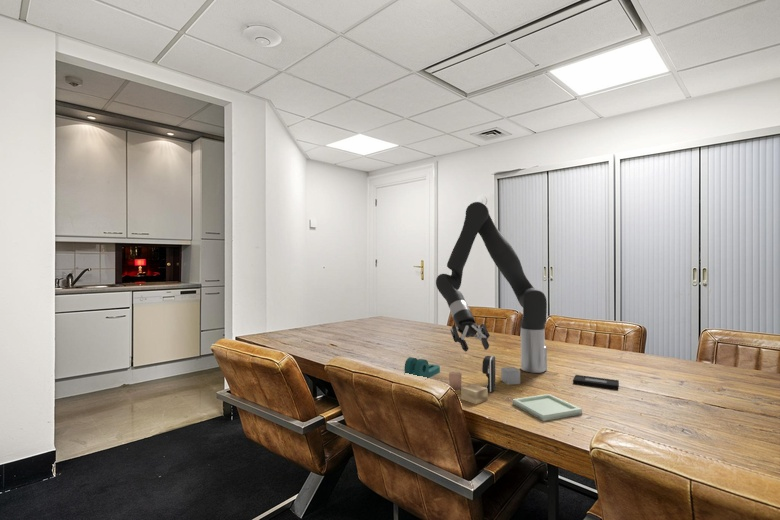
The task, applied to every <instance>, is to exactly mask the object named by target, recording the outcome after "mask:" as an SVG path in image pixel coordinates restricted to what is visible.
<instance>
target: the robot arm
mask: <svg viewBox="0 0 780 520" xmlns="http://www.w3.org/2000/svg"><path fill="white" fill-rule="evenodd" d="M489 212H490V211H489V208H488V206H487V205H486V204H485V203H484V202H481V201H475V202H474V201H473V202H471V203H470V204H469V205H468V206H467V208H466V209H465V217H464V221H463V226H462V228H461V232H460V234H459V236H458V238H457V241H456V242H455V243H454V246H453V248H452V251H451V253H450V255H449V258H448V261H447V263H446V267H447V268H448V269H449V270H450V271H451V274H447V273H440V274H438V275H437V277H436V280H435V286H436V288H437V290H438V292H439V293H440V295H441V296H442V297H443V298H444V299H445V301H446V303H447V305H448V308H449V310H450V314H451V316H452V319H453V321H454V324H455V325H452V327H451V328H450V333H451V336H452V338H453V339H452V340H453V342H454V343H459V344H460V346H461V348H462V350H463V351H464V352H466V353H467V352H468V351H469V346H468V343H467V341H466V340H465V338H475V339H477V340H478V339H479V341H480V342H481V345H482V346H483V348H484V350H485V351H487V350H488V349H489V347H490V344H489V342H488V339H489V338H490V336H491V335H490V333H489V331H488V329H487V327H486V325H485V324H484V323H481V324H479V325H478V324H477V323H476V320H475V318H474V315H473V313H472V310H471V309H470V307H469V305H468V303H467V301H466V300H465V297H464V295H463V293H462V292H461V291H459V289H460V288H461V285H462V280H463V279H462V278H463V271H464V267H465V266H466V263H467V261H468V258H469V255H470V253H471V250H472V248H473V244H474V242H475V239H476V237H477V235H478V234H479V235H480V237H481V239H482V241H483V244H484V246H485V247H486V248H485V249H486V250H487V252H488V254H489V256H490V258H491V259H492V261H493V262H494V264H495V265H496V267H497V269H498V270H499V271H500V273H501V275H502V276H503V278H505V280H506V282H508V284H509V285H510V287H511V289H512V291H513V293H514V295H515V297H516V300H517V301H518V303H519V305H520V306H521V308H523V309H522V311H523V313H522V314H523V315H522V318H521V319H522V320H521V321H520V369H521V371H523V372H527V373H531V374H532V373H533V374H536V373H537V374H538V373H539V374H540V373H544V372H546V371H548V348H547V346H546V345H545V343H546V340H545V339H546V335H545V334H546V333H545V332H546V330H545V324H546V322H547V313H548V312H547V307H548V306H547V305H548V304H547V297H546V295H545V293H544V292H543V291H541V290H539V289H537V288H535V287H534V286H533V285H532V284H531V282H530V281H529V280H528V278H527V277H526V274H525V272H524V270H523V266H522V263H521V260H520V258H519V256H518V254H517V252H516V251H515V249H514V248H513V247H512V245H511V244H510V242H509V241H508V239H506V237H505V236H504V235H503V234H502V232H501V231H500V230H499V229H498V228H497V226H496V224H495V223H494V221H493V219H492V217H491V215H490V213H489ZM459 333H460V334H461V335H459Z"/></svg>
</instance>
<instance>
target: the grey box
mask: <svg viewBox="0 0 780 520" xmlns="http://www.w3.org/2000/svg"><path fill="white" fill-rule="evenodd" d="M500 371H501V375H500V376H501V379H500V381H501V382H503V383H504V384H506V385H507V386H508V385H520V384H521V370H520V369H519V368H516V367H515V366H507V367H506V366H505V367H504V366H503V367H501V370H500Z"/></svg>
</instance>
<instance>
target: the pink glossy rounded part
mask: <svg viewBox="0 0 780 520" xmlns="http://www.w3.org/2000/svg"><path fill="white" fill-rule="evenodd" d="M462 381H463V380H462V373H461V372H459V371H451V372H449V373H448V386H449V385H450V386H451V387H452V388H453V389H452V390H461V388H462V387H463V386H462Z"/></svg>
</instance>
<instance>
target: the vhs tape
mask: <svg viewBox="0 0 780 520" xmlns="http://www.w3.org/2000/svg"><path fill="white" fill-rule="evenodd" d="M619 383H620V382H619V379H610V378H604V377H597V376H589V375H581V374H580V375H579V374H575V375H574V377H573V380H572V384H573V385H581V386H587V387H592V388H594V387H595V388H600V389H607V390H614V391H619Z"/></svg>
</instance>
